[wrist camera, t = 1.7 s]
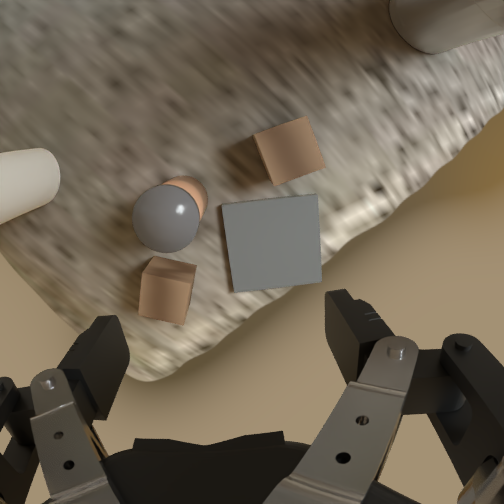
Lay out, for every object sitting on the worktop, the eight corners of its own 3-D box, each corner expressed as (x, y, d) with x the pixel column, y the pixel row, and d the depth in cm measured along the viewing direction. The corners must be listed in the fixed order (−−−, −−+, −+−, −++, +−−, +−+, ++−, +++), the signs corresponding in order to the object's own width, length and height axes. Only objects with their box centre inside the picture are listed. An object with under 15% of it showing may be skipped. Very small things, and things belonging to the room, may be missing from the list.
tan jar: (205, 170, 32) (192, 180, 24) (212, 221, 34) (203, 248, 26) (154, 178, 32) (126, 192, 24) (163, 227, 34) (139, 256, 26)
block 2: (297, 119, 31) (306, 115, 26) (313, 163, 33) (325, 167, 28) (252, 135, 31) (253, 134, 27) (269, 179, 33) (274, 186, 28)
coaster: (315, 193, 33) (317, 194, 33) (320, 279, 37) (321, 281, 36) (222, 204, 34) (221, 205, 33) (234, 289, 37) (234, 292, 36)
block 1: (196, 264, 36) (190, 283, 31) (189, 303, 37) (183, 325, 33) (154, 255, 35) (142, 272, 31) (149, 293, 37) (138, 314, 32)
